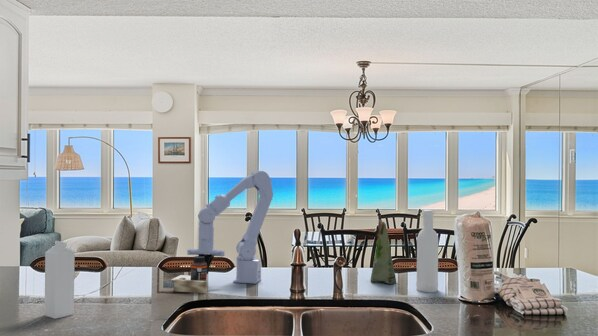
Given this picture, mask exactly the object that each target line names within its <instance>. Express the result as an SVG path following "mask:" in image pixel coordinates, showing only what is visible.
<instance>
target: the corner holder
mask: <svg viewBox="0 0 598 336" xmlns="http://www.w3.org/2000/svg"><path fill="white" fill-rule="evenodd" d="M173 292H179V293H180V292H182V293H198V294H206V293H207V292H208V280H207V281H198V280H185V278H180V279H175V280H174V281H173Z"/></svg>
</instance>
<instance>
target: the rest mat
mask: <svg viewBox="0 0 598 336" xmlns="http://www.w3.org/2000/svg"><path fill="white" fill-rule="evenodd" d="M180 278H185V280H191V275H189V274H188V275H186V274H185V275H184V274H180V275H178V276H176V277H173V278H172V279H170V281H173V282H174V280H175V279H180Z"/></svg>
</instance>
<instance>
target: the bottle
mask: <svg viewBox="0 0 598 336" xmlns="http://www.w3.org/2000/svg"><path fill="white" fill-rule="evenodd" d="M422 212H423V213H422V219H423V220H422V229H421V230H420V231H419V232H418V235H417V238H416V239H417V241H416V243H417V244H416V283H415V285H416V290H417V291H419V292H421V293H437V292H438V291H439V290H438V288H439V276H438V275H439V236H438V234H437V231H436V230H435V229H434V228H433V227H434V210H431V209H424V210H422Z"/></svg>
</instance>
